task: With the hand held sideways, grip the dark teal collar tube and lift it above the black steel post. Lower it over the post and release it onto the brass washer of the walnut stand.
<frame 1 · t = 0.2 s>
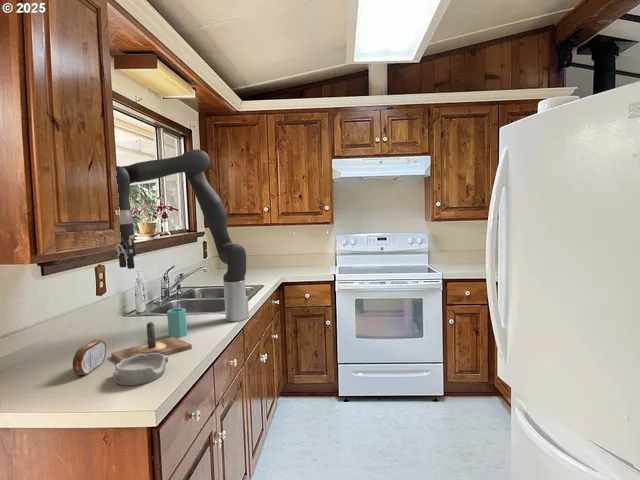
hand: (127, 267, 148), 29 cm above the worktop, tool pointing down, fingers open, 8 cm apart
post stand: (152, 352, 141), on the worktop
tin: (91, 370, 128), on the worktop
dish: (140, 378, 121), on the worktop
collar: (178, 335, 160), on the worktop
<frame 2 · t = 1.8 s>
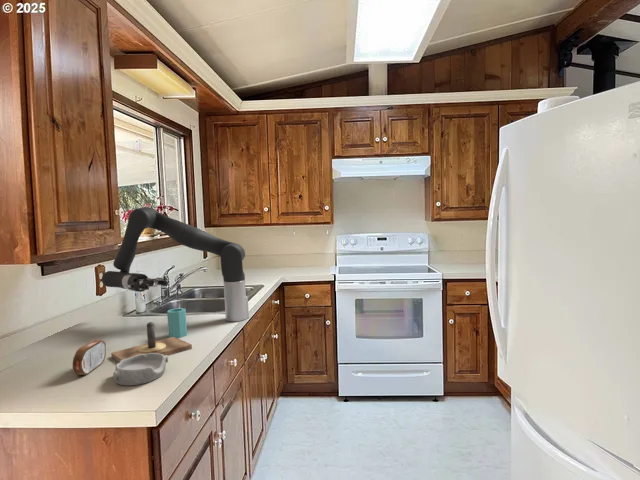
hand: (157, 285, 165), 19 cm above the worktop, tool horizontal, fingers open, 8 cm apart
nothing on the worktop moved.
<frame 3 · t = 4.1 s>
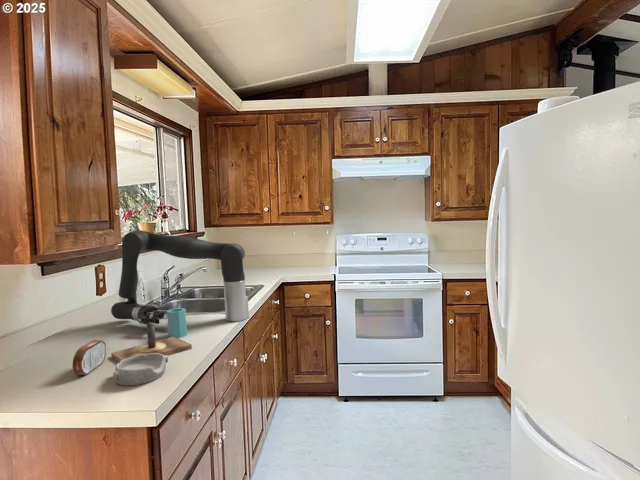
hand: (168, 318, 163), 6 cm above the worktop, tool horizontal, fingers open, 8 cm apart
nothing on the worktop moved.
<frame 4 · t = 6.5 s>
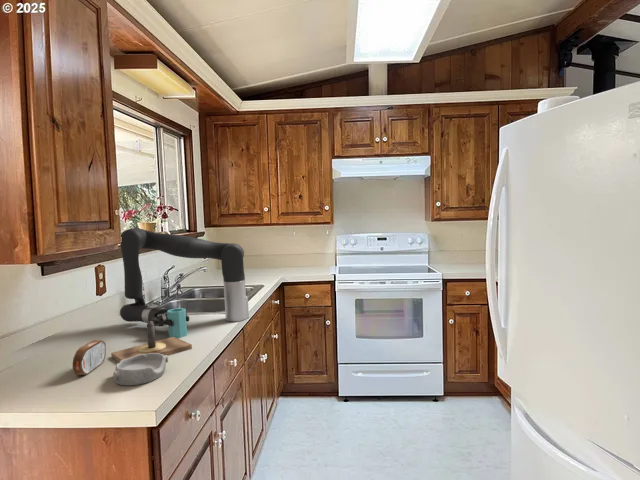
hand: (180, 321, 159), 6 cm above the worktop, tool horizontal, fingers closed on collar, 6 cm apart
collar: (178, 335, 160), on the worktop, touching gripper
everything else where it was.
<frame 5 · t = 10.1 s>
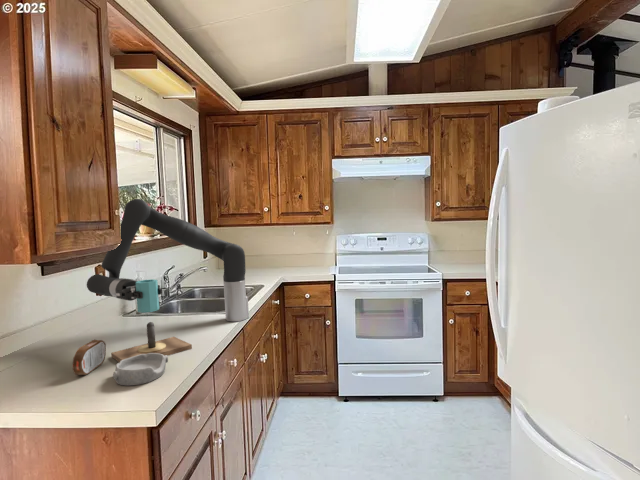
hand: (151, 293, 139), 21 cm above the worktop, tool horizontal, fingers closed on collar, 6 cm apart
collar: (148, 310, 140), point 15 cm above the worktop, touching gripper
everything else where it was.
when the fingers open (9 cm above the worktop, at t = 14.0 s): collar stays where it is, resting on post stand.
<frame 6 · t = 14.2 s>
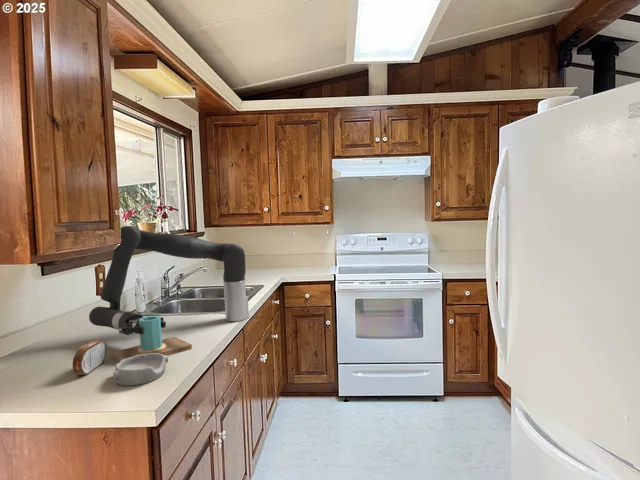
hand: (153, 327, 140), 9 cm above the worktop, tool horizontal, fingers open, 8 cm apart
collar: (151, 347, 141), point 2 cm above the worktop, touching post stand
everything else where it was.
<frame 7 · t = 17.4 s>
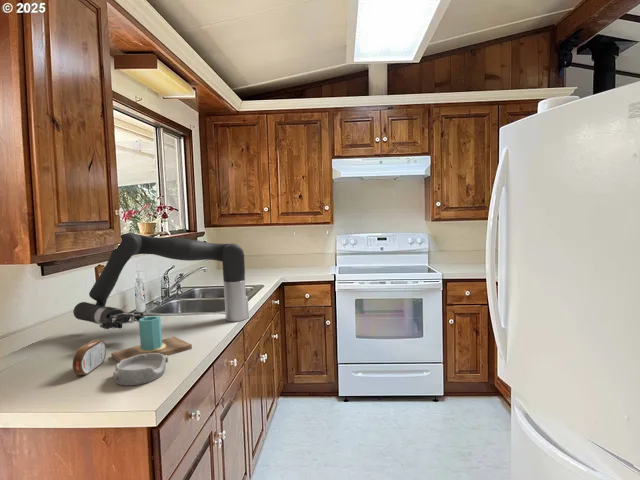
hand: (132, 322, 147), 9 cm above the worktop, tool horizontal, fingers open, 8 cm apart
nothing on the worktop moved.
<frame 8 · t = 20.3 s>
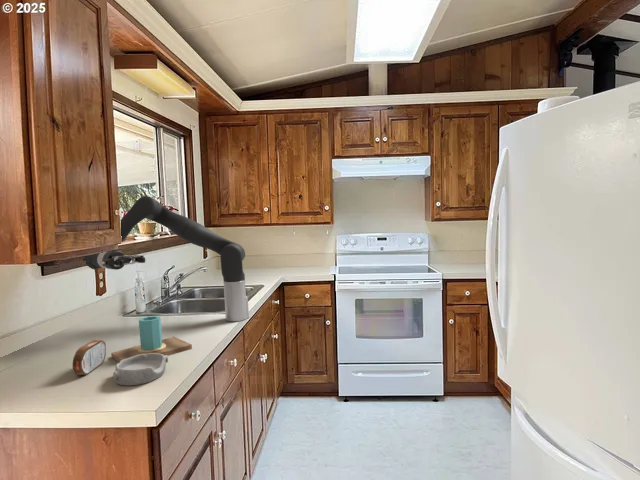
hand: (133, 261, 156), 30 cm above the worktop, tool horizontal, fingers open, 8 cm apart
nothing on the worktop moved.
at the end: collar 0.1 cm off-centre on the post stand, point 2.0 cm above the post stand's base; collar tilted 0°; the gripper is holding nothing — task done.
